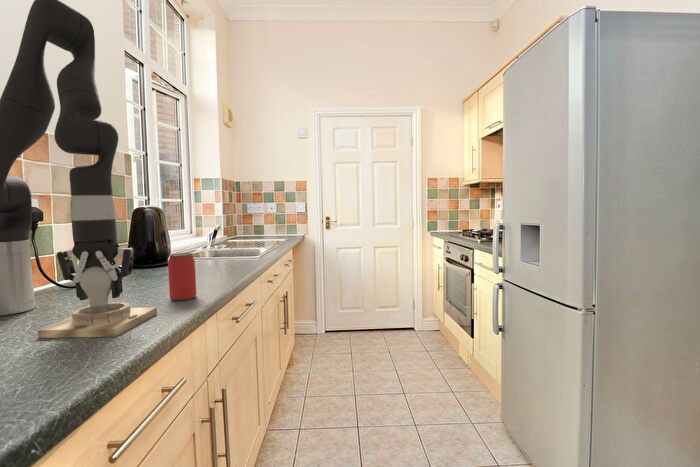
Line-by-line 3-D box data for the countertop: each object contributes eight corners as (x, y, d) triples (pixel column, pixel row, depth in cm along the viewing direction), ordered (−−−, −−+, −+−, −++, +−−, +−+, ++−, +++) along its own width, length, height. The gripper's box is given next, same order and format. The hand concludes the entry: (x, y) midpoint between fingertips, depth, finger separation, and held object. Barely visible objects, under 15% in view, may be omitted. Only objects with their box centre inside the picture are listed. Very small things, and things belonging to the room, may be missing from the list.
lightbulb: (107, 321, 75) (105, 267, 75) (74, 322, 74) (72, 268, 74) (121, 312, 81) (119, 263, 81) (91, 313, 80) (89, 263, 80)
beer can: (191, 294, 105) (188, 252, 104) (200, 297, 100) (198, 253, 100) (166, 298, 100) (163, 254, 100) (175, 302, 96) (172, 256, 95)
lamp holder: (38, 337, 71) (36, 320, 71) (92, 314, 86) (91, 300, 86) (115, 336, 71) (114, 318, 71) (157, 313, 86) (156, 298, 86)
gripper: (138, 216, 82) (143, 292, 83) (65, 218, 79) (72, 296, 80) (124, 217, 74) (130, 300, 75) (43, 219, 72) (50, 305, 73)
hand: (100, 298), depth 78 cm, fingers closed on lightbulb, 5 cm apart
